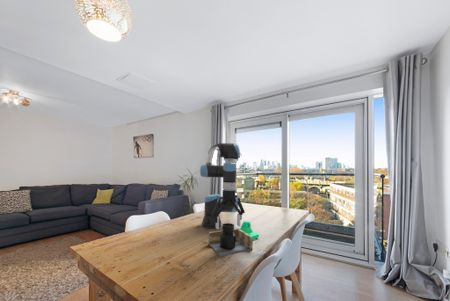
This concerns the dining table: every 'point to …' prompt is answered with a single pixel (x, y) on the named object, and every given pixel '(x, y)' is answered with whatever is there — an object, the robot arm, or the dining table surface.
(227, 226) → the ink bottle
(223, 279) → the dining table surface
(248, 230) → the camera mount
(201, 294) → the dining table surface
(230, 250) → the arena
